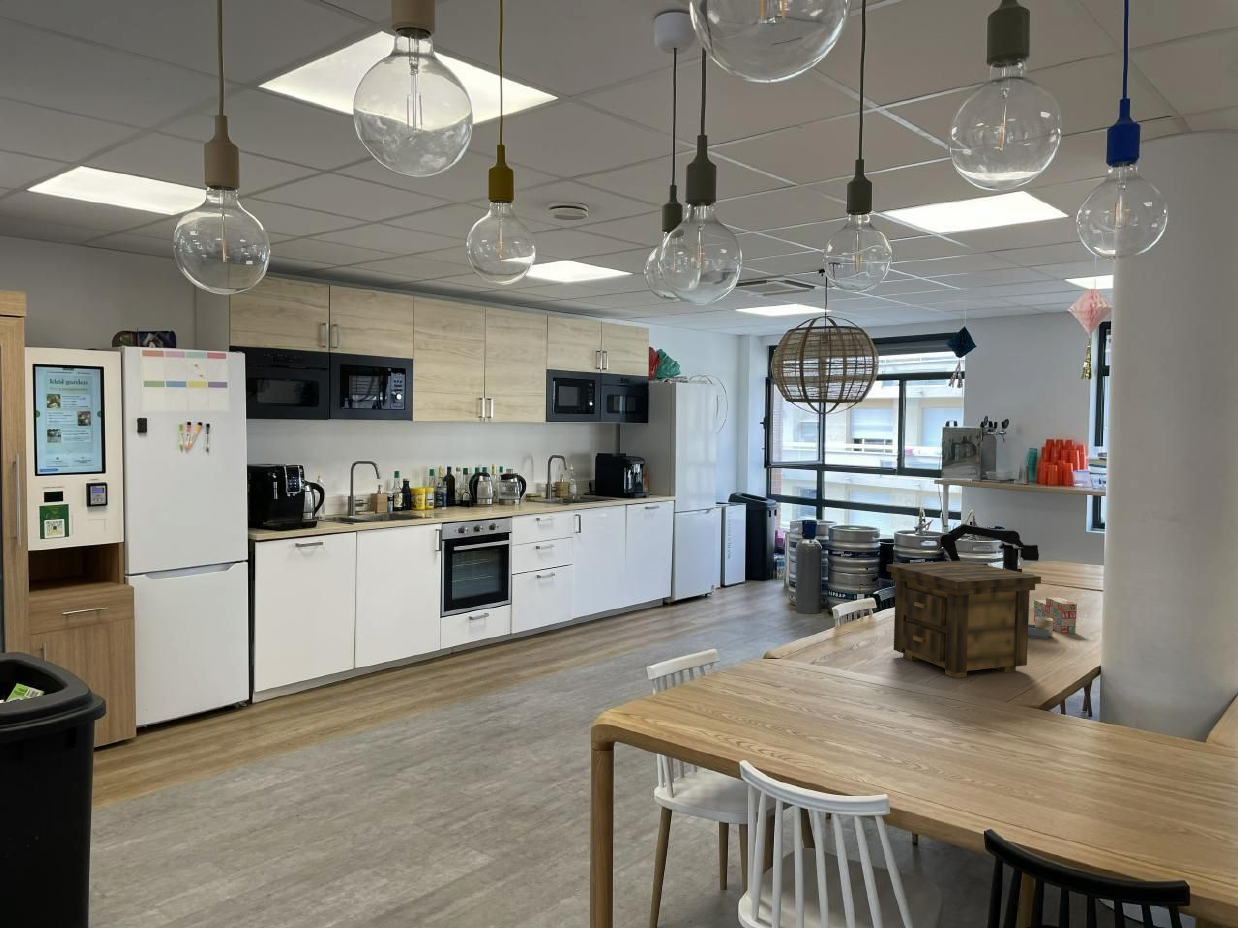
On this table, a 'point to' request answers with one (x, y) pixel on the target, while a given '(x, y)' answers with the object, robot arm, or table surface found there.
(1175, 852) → the table surface
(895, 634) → the wooden nightstand
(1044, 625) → the block
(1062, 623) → the stack of blocks
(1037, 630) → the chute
